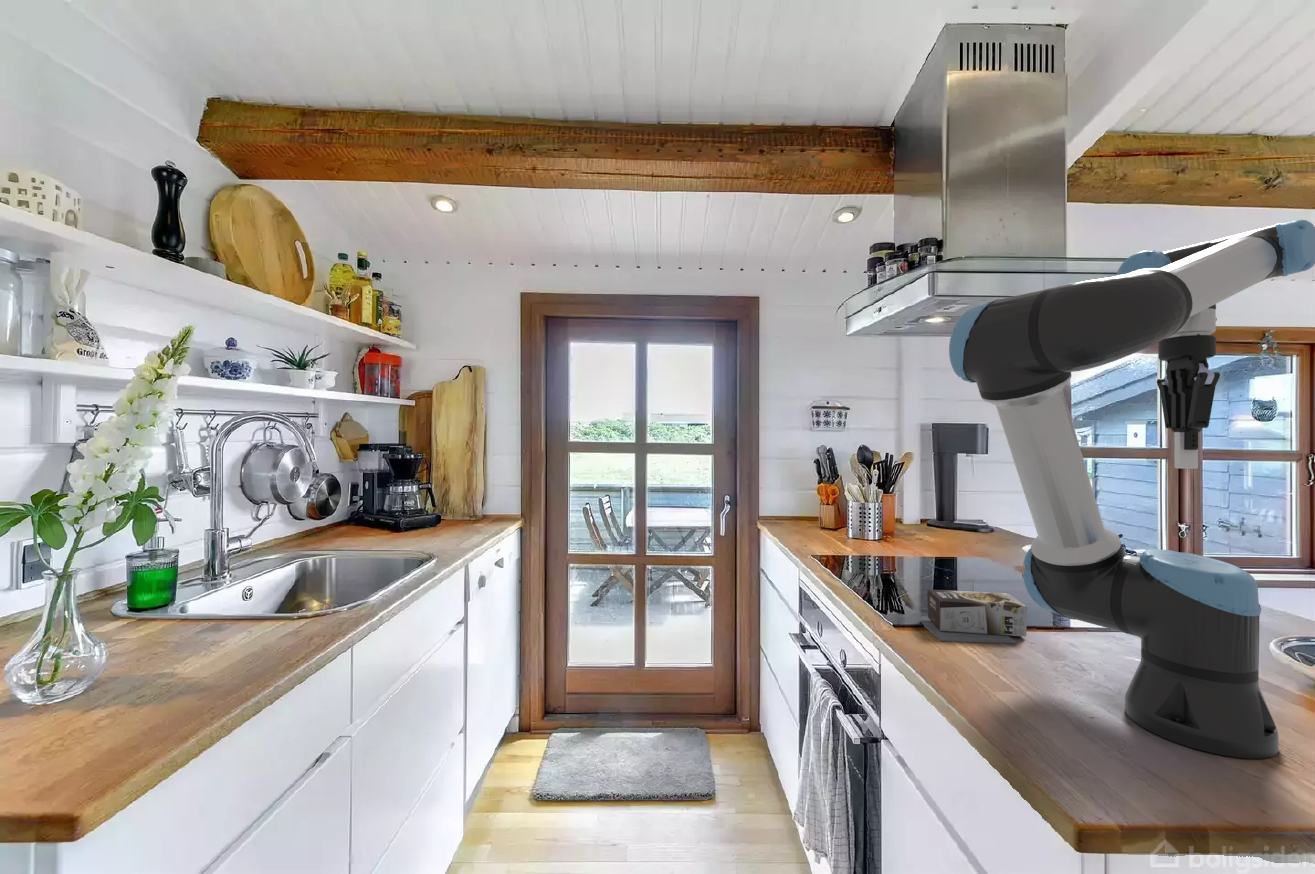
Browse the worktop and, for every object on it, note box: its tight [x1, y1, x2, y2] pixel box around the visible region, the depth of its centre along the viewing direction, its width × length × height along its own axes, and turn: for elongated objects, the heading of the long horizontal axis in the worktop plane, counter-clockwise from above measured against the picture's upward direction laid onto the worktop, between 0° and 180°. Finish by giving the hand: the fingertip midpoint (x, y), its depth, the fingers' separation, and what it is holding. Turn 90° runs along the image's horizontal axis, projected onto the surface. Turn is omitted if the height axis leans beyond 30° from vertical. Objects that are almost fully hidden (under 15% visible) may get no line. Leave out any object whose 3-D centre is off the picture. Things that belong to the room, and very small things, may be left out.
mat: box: [918, 620, 1017, 644], centre depth 114 cm, size 14×11×1 cm
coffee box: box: [926, 588, 1028, 638], centre depth 116 cm, size 9×6×16 cm
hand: (1185, 468), depth 100 cm, fingers closed
